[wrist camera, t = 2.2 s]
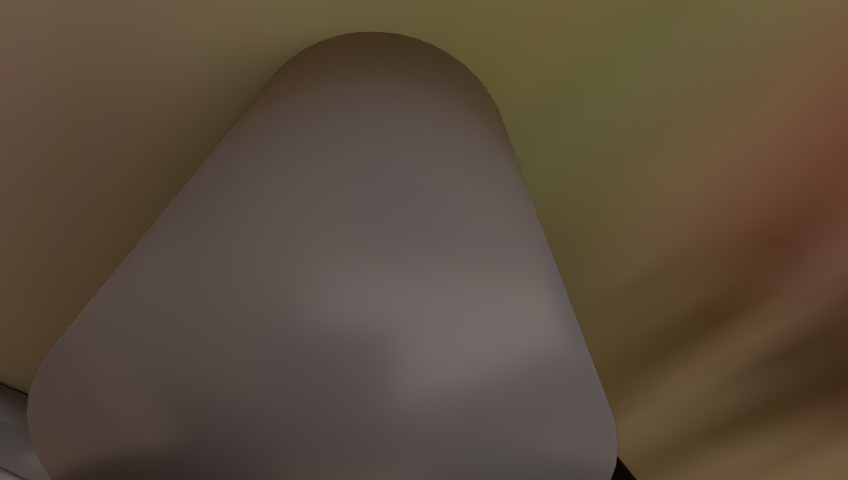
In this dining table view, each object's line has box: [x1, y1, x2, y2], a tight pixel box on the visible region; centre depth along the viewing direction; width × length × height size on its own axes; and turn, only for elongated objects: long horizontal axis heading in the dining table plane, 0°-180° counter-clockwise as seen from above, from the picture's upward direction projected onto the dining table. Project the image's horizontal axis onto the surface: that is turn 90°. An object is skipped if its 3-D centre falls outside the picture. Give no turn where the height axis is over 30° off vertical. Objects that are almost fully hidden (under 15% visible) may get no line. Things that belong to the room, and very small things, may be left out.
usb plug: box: [26, 32, 618, 480], centre depth 8 cm, size 4×12×5 cm, turn 178°
